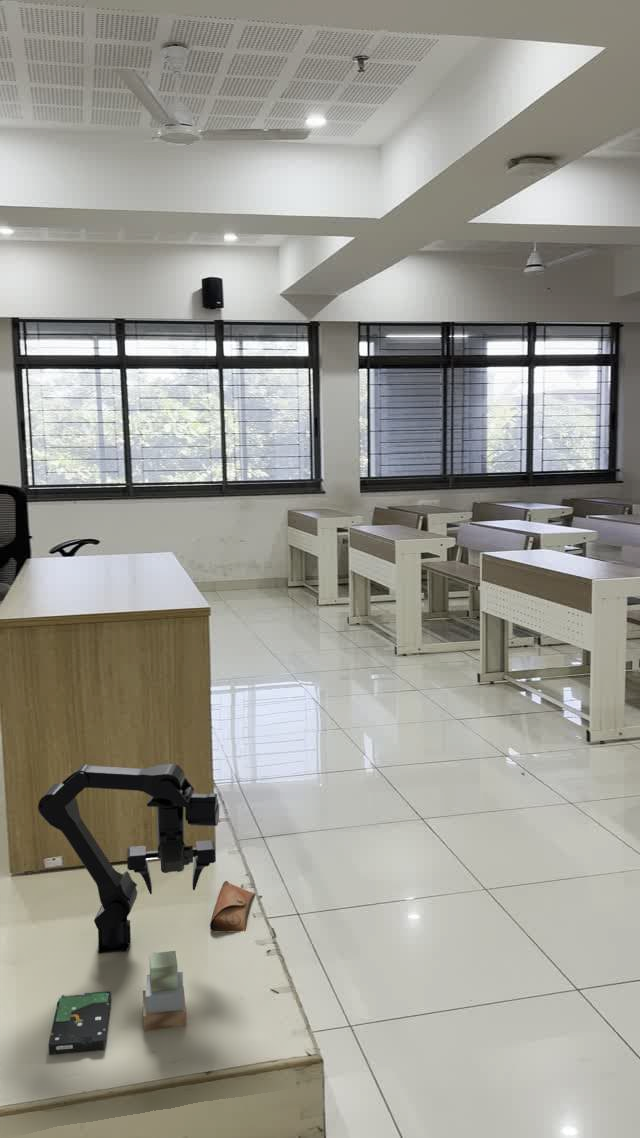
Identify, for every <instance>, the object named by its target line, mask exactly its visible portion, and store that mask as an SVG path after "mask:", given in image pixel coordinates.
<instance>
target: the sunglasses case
mask: <svg viewBox="0 0 640 1138" xmlns="http://www.w3.org/2000/svg"><path fill="white" fill-rule="evenodd" d="M255 895H256V893H255V892H252V891H249V890H247V889H245V888H242V887H240V886H238V885H235V884H232V883H231V882H229V881H228V880H225V881H224V882H223V883H222V886H221V888H220V891H219V893H218V896H217V899H216V903H215V906H214V909H213V912H212V915H211V918H210V923H209V929H210V930H211V932H213V931H244V932H243V933H245V932H246V930H247V920H248V915H249V912H250V907H251V904H252V901H253V899H254V897H255Z"/></svg>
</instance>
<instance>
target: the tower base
mask: <svg viewBox="0 0 640 1138" xmlns="http://www.w3.org/2000/svg"><path fill="white" fill-rule="evenodd" d="M142 1004H143V1005H142V1009H143V1011H142V1012H143V1032H146V1031H147V1032H148V1031H154V1030H163V1029H171V1028H179V1027H186V1026H187V1007H186V1006H187V1005H186V996H185V986H184V985H183V1010H178V1011H167V1012H156V1013H146V989H145V990H142Z"/></svg>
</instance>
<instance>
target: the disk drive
mask: <svg viewBox="0 0 640 1138" xmlns="http://www.w3.org/2000/svg"><path fill="white" fill-rule="evenodd" d="M111 1005H112V992H111V990H108V991H97V992H96V991H95V992H84V993H83V994H82V993H81V994H72V995H65V994H62V995H61V996H60V997H59V998H58V1001H57V1002H56V1008H55V1013H54V1016H53V1017H54V1018H53V1022H52V1026H51V1031H50V1035H49V1038H48V1039H49V1040H48V1055H49V1056H52V1055H64V1054H65V1055H66V1054H74V1053H87V1052H97V1051H105V1050H106V1049H107V1048H106V1047H107V1038H108V1030H109V1028H108V1027H109V1021H110V1015H111V1014H110V1012H111V1009H112V1006H111Z"/></svg>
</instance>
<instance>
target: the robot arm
mask: <svg viewBox="0 0 640 1138" xmlns="http://www.w3.org/2000/svg"><path fill="white" fill-rule="evenodd" d="M86 788H87V789H88V788H89V789H106V790H122V791H136V792H137V791H138V792H142V793H144V794H146V795H148V796H150V798H149V799H148V802H146V806H147V807H153V808H156V823H157V824H156V825H157V826H156V828H157V829H156V831H157V850H149V851H147V850H146V848H147V847H146V845H135V846H129V847H128V849H127V851H126V852H127V853H126V855H127V856H126V859H127V860H126V861H127V862H126V863H127V864H126V866H127V870H129V871H133V872H134V873H138V874H140V875H141V877H142V879H143V881H144V883H145V885H146V888H147V890H148V893H149V895H152V894H153V886H152V878H151V877H152V876H151V872H150V866H149V861H160V871H161V872H162V873H163V874H169V873H174V872H177V873H180V872H184V870H185V866H187V865H190V864H193V869H192V871H193V872H192V879H191V880H192V891H195V890H196V887H197V885H198V881H199V879H200V876H201V873H202V871H203V870H204V868H207V867H209V866H210V864H214V863H216V862H217V857H216V856H217V853H216V852H217V851H216V848H215V847H216V846H215V842H214V841H213V840H212V839H209V840H196V842H195V847H193V845H187V844H186V841H185V821H186V822H187V825H190V826H198V827H199V826H200V827H202V826H203V827H217V826H218V825H219V820H220V804H219V799H218V794H217V793H216V792H215V793H214V792H213V793H212V792H211V793H195V788H194V786H193V785H192V784H191V783H190V781H189V780H188V778H187V777H186V775H185V772H184V769H182V767H181V766H180V765H178V764H176V763H166V764H156V765H153V766H150V767H145V768H134V767H133V768H132V767H117V766H100V765H91V764H86V763H85V764H82V765H80V766H79V767H78V768H77V769H76V770H74V772H73V773H71V774H70V775H69V776H67V777H66V778H65V779H64V780H62V782H58V783H57V782H56V783H53V784H52V785H51V786H50V787H49V788H48V789H47V790H46V791H45V792H44V794H43V795H42V797H41V798H40V799H39V801H38V806H37V810H38V813H39V814H40V815H41V817H42V818H43V819H44V820H45V821H46V822H47V823H48V824H49V825H50V826H51V827H53V828H55V829H56V830H59V831H60V832H61V833H62V834H63V835H64V837H65V839H66V840H67V841H68V843H69V845H70V847H71V848H72V849H73V851H74V853H75V854H76V856H77V857H78V859H79V860H80V862H81V863H82V865H83V866H84V868H85V869H86V870H87V872H88V874H89V876H91V878H92V880H93V881H94V883H95V884H96V886H97V892H98V897H99V900H100V904H101V906H100V908H99V910H98V912H97V914H96V916H95V917H94V919H93V922H94V924H95V927H96V929H97V936H98V937H97V940H98V941H97V942H98V943H97V944H98V945H97V953H98V954H105V953H106V954H107V953H115V952H116V953H117V952H125V951H128V950H129V944H130V943H132V941H131V940H132V938H131V937H132V935H131V920H130V919H128V916H129V915H130V913H131V910H133V909H132V908H133V906H134V904H135V902H136V900H137V896H138V890H137V886H138V884H137V883H136V882H135V881H134V880H133V879H132V877H131V875H130V873H129V871H127V870H126V871H125V872H124V873H121V872H119V871H117V870H116V869H115V868H114V867H113V865H112V864H111V862H110V860H109V859H108V857H107V855H106V854H105V853H104V851H103V850H102V848H101V846H100V845H99V843H98V842H97V840H96V839H95V838H94V836H93V834H92V832H91V831H90V829H89V828H88V827H87V825H86V824H85V822H84V820H83V819H82V817H81V814H80V813H81V812H80V810H79V809H80V808H79V804H78V800H77V798H76V797H77V796H78V795H79V794H80V792H82V791H83V790H84V789H86ZM181 791H182V792H181Z"/></svg>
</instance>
